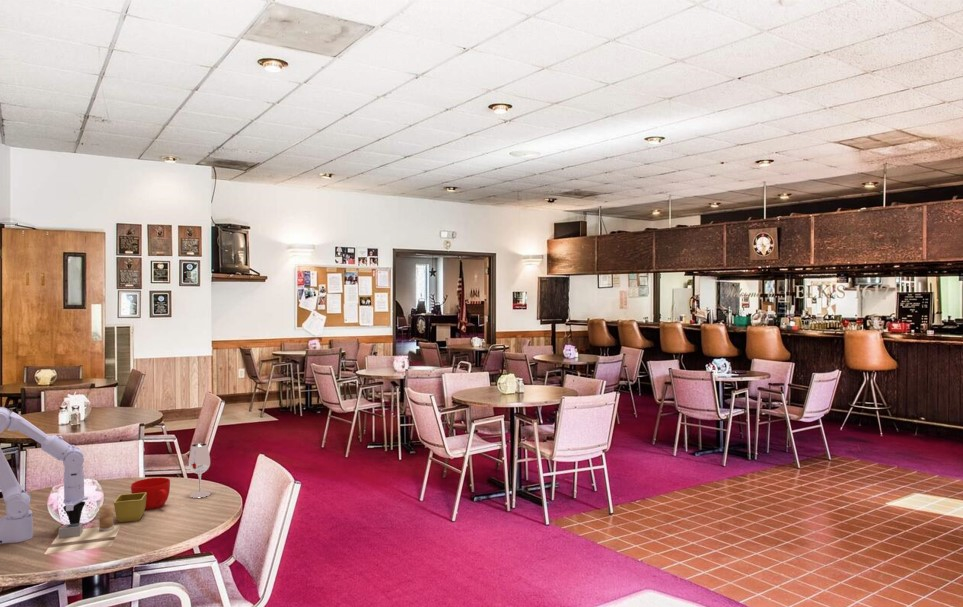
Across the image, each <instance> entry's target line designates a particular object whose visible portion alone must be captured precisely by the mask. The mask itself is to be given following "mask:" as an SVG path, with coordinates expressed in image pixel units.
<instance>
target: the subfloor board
mask: <svg viewBox="0 0 963 607" xmlns="http://www.w3.org/2000/svg"><path fill="white" fill-rule="evenodd" d="M99 527H100V526H97V527H89V528H83V532H82V534H81V535H80V536H77V537H69V538H60V539H59V534H58V533H57V536H56V537H55V539H54V540H52V542H51V544H50V545H49V547H48V548H47V549H46V551H45V552H44V553H43V555H51V554H60V553H67V552H75V551H83V550H84V551H86V550H92V549H100V548H107V547H112V545H113V543H114V541H115V539H116V537H117V535H118V533H119V530H120V529H121V527H122V524H114V529H113V530H110V531H105V532H101V531H99Z"/></svg>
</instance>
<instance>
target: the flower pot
mask: <svg viewBox="0 0 963 607" xmlns="http://www.w3.org/2000/svg"><path fill="white" fill-rule="evenodd" d="M146 495H147V493H146V492H145V493H135V494H132V493H126V494H125V493H124V494H119V495H118V497H117V498H116V499H115V500H114V502H113V508H114V512H115V515H116V519H117V520H118V522H119V523H124V522H136V521H140V520H141V518H142V517H143V516H144V513H145V510H146V509H145V506H146Z"/></svg>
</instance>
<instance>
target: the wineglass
mask: <svg viewBox="0 0 963 607" xmlns="http://www.w3.org/2000/svg"><path fill="white" fill-rule="evenodd" d="M210 466H211V456H210V451H209V447H208V444H207V443H206V442H205V443H203V442H200V443H193V444H192V445H191V446H190V451H189V458H188V468H189V469H190V471H191V472H192V473H194V474H197V476H198V491H197V492H192V493H191V494H189V498H191V497H193V498H192V499H201V497H203V498H206V496H207V497H209V496H210V495H211V492H210V491H202V474H203V473H205V472H207V471H208V470H209V468H210Z"/></svg>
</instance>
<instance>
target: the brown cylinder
mask: <svg viewBox="0 0 963 607" xmlns="http://www.w3.org/2000/svg"><path fill="white" fill-rule="evenodd" d="M98 509H99V511H98V512H99V514H98V515H99V518H98V519H99V526H98V527H99V531H101V532H105V531H110V530H113V529H114V525H115V523H114V504H106V505H101V506H99V507H98Z"/></svg>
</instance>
